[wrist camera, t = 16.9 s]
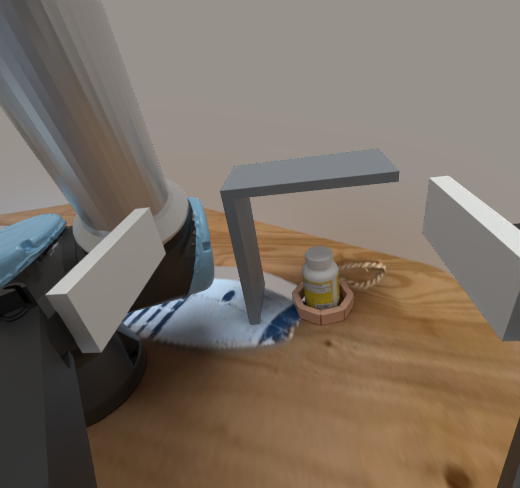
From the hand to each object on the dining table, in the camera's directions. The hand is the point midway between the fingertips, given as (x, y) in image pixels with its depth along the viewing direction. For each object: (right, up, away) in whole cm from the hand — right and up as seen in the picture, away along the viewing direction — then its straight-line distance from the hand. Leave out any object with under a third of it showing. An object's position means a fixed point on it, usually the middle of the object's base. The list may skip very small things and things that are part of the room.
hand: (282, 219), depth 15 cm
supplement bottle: (+9, -11, +35) cm, 38 cm away
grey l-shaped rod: (+8, -10, +36) cm, 38 cm away
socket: (+9, -11, +35) cm, 38 cm away
